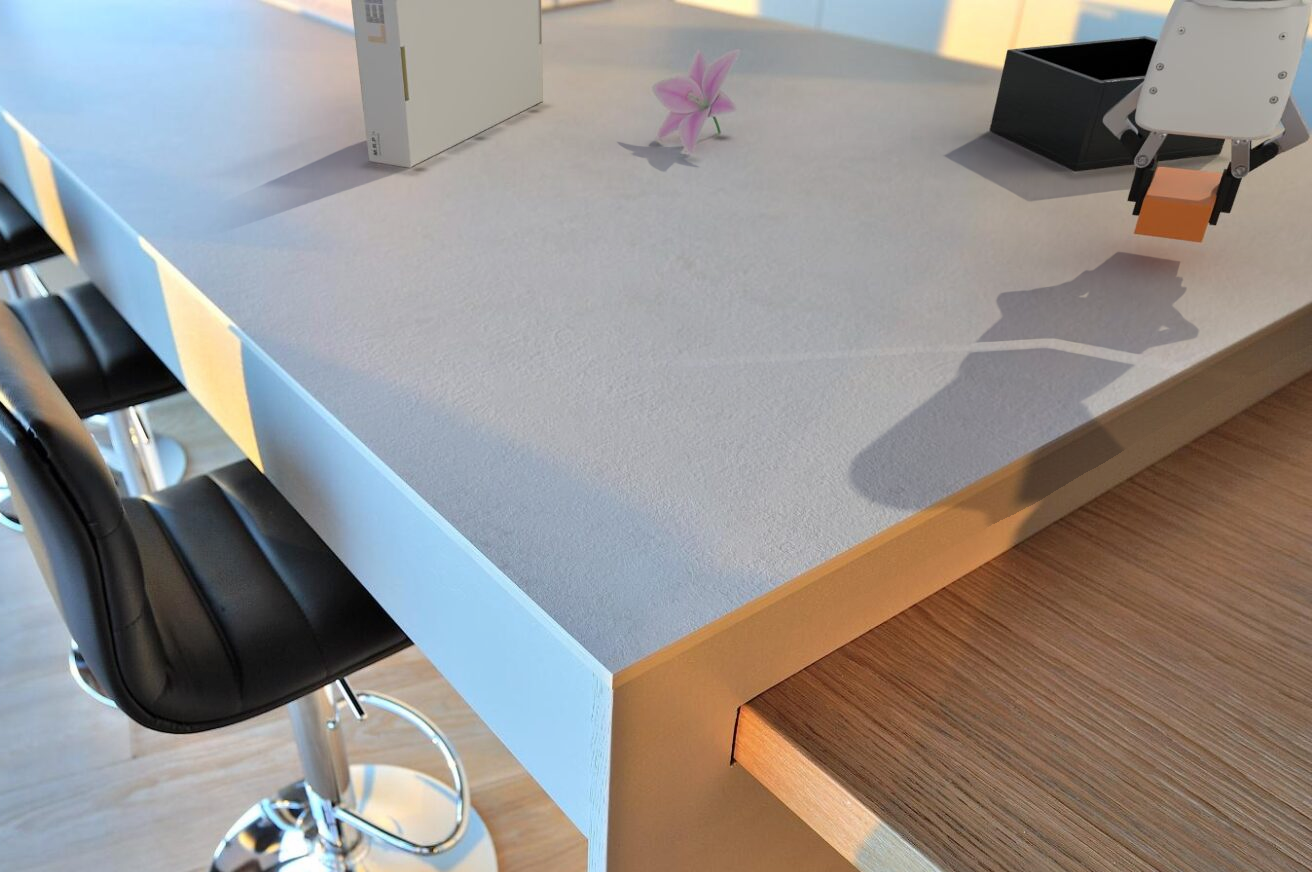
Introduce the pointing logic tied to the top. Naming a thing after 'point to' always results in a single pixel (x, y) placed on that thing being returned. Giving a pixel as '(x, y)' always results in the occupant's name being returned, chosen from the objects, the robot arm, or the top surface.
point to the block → (1178, 204)
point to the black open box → (1080, 102)
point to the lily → (695, 97)
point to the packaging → (443, 71)
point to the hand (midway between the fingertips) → (1175, 212)
